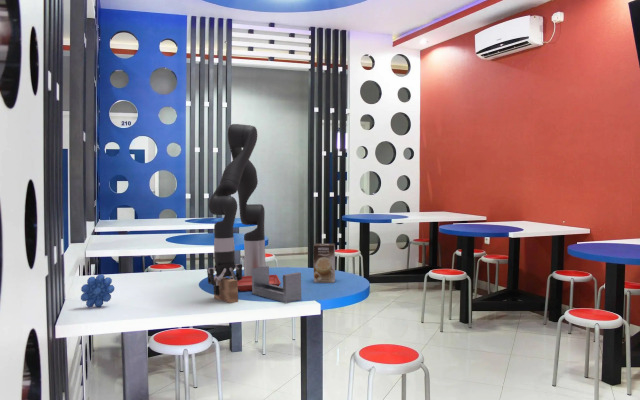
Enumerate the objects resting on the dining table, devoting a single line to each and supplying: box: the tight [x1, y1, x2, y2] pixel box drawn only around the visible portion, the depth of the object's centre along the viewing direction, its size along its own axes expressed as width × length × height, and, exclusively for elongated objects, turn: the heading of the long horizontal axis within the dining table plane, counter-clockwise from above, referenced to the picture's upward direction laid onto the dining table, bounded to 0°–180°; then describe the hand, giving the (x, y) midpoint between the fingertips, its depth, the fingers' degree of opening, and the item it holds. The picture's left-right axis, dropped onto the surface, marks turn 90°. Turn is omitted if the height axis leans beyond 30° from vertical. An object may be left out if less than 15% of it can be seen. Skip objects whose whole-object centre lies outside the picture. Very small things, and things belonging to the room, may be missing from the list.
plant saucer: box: [237, 274, 282, 292], centre depth 224 cm, size 18×18×3 cm
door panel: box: [213, 276, 239, 304], centre depth 201 cm, size 12×3×8 cm, turn 41°
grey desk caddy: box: [251, 265, 302, 304], centre depth 204 cm, size 22×7×10 cm, turn 41°
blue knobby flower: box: [80, 273, 115, 308], centre depth 195 cm, size 12×7×12 cm, turn 100°
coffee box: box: [313, 243, 336, 284], centre depth 231 cm, size 9×6×16 cm
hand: (225, 293), depth 201 cm, fingers open, 7 cm apart
